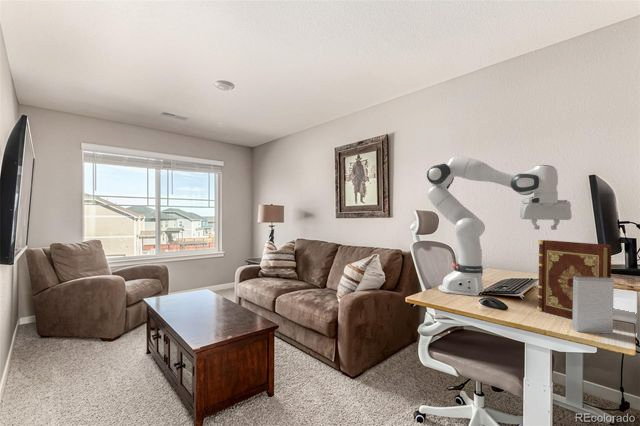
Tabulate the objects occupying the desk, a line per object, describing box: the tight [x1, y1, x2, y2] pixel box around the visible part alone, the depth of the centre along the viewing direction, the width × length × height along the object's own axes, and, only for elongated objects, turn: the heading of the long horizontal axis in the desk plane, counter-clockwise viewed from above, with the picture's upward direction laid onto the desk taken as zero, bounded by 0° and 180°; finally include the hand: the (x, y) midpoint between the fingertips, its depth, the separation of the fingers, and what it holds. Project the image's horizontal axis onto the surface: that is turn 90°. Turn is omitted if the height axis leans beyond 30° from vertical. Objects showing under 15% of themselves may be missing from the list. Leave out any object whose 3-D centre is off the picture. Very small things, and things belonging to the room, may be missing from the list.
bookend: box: [571, 276, 615, 335], centre depth 106 cm, size 11×2×19 cm, turn 81°
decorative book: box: [536, 239, 612, 320], centre depth 122 cm, size 22×8×30 cm, turn 29°
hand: (545, 229), depth 139 cm, fingers open, 6 cm apart
